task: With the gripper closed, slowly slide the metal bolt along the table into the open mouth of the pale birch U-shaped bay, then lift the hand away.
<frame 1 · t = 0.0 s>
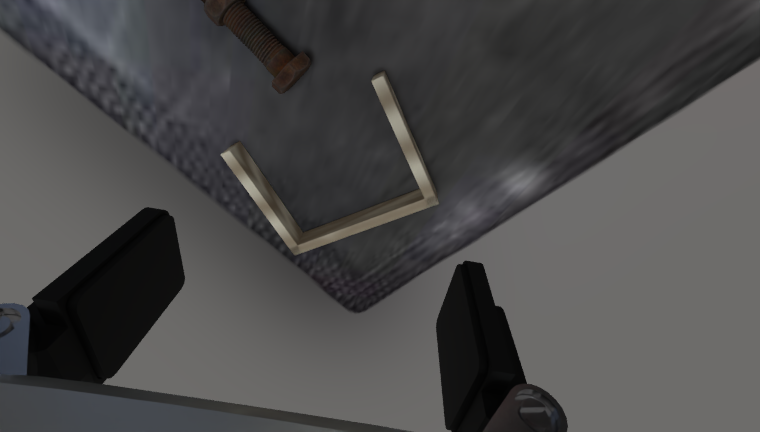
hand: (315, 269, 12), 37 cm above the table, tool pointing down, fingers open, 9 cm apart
bolt: (255, 24, 42), on the table
bay: (333, 164, 50), on the table
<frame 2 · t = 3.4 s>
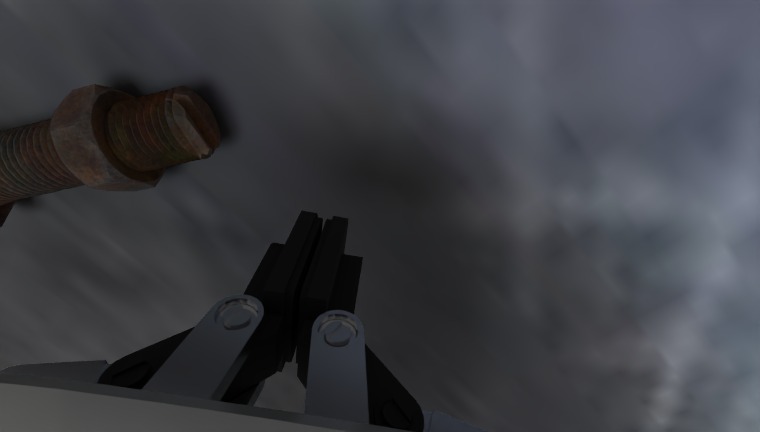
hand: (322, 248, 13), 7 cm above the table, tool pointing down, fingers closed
bolt: (102, 140, 19), on the table
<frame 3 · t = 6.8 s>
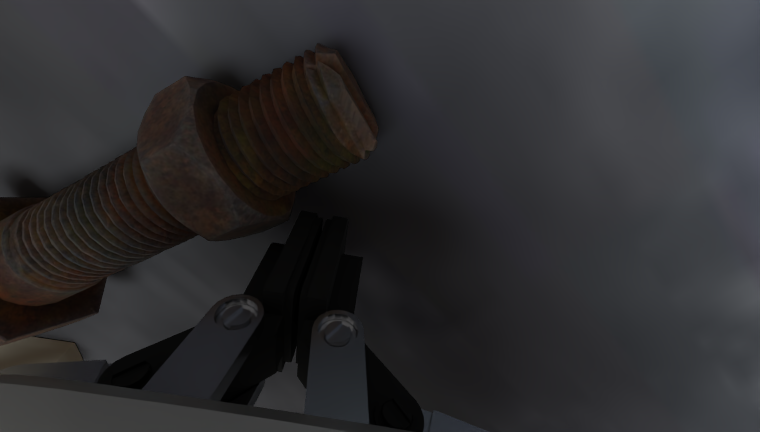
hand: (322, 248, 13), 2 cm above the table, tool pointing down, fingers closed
bolt: (197, 171, 14), on the table, touching gripper
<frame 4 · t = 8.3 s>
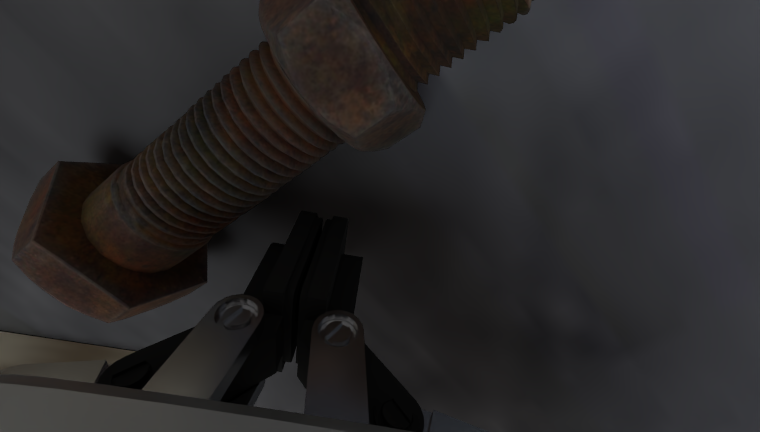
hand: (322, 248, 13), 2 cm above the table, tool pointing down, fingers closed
bolt: (292, 107, 12), on the table, touching gripper
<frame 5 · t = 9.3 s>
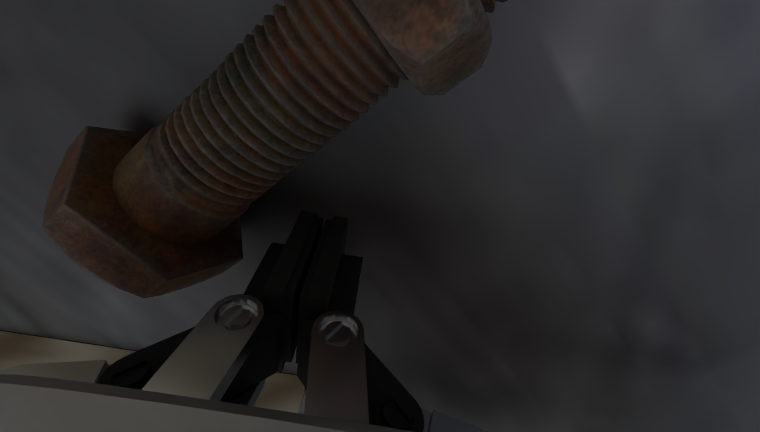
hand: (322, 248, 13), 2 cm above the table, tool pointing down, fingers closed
bolt: (330, 64, 11), on the table, touching gripper
bay: (101, 186, 14), on the table
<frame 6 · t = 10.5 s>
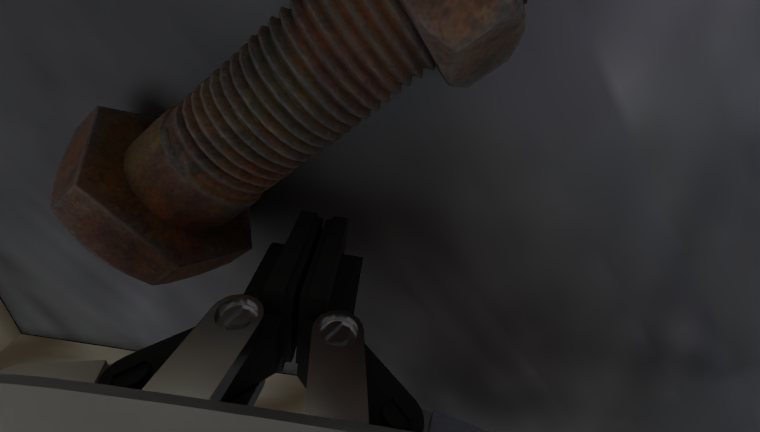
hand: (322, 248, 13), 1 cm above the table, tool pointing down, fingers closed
bolt: (348, 53, 11), on the table, touching gripper
bay: (139, 192, 14), on the table
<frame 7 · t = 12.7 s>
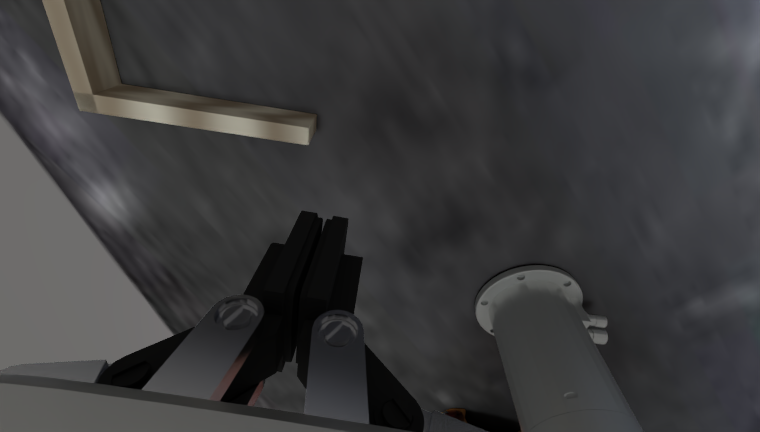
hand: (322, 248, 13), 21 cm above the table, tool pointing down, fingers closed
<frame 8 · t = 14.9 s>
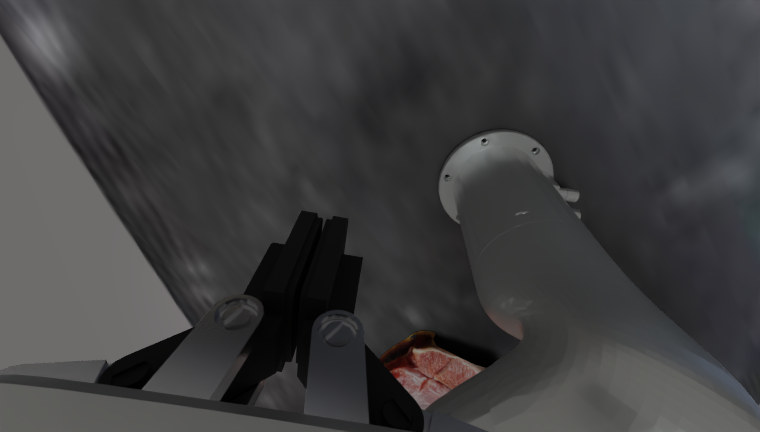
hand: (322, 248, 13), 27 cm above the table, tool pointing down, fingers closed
meat: (433, 369, 60), on the table
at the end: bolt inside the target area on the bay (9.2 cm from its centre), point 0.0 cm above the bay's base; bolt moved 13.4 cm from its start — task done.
